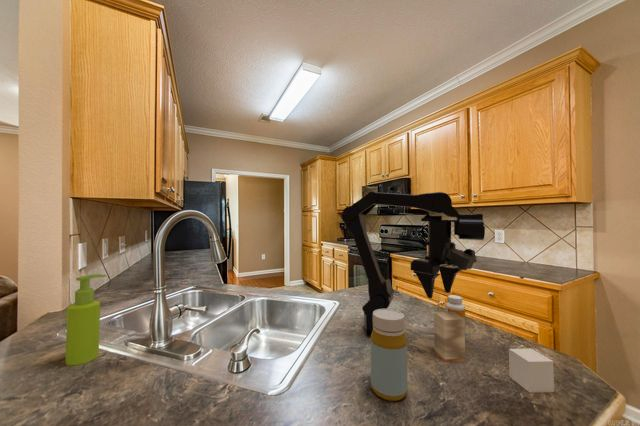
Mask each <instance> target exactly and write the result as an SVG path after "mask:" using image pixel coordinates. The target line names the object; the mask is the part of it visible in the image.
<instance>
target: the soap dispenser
mask: <svg viewBox="0 0 640 426" xmlns="http://www.w3.org/2000/svg"><path fill="white" fill-rule="evenodd" d="M105 277H107V275H106V274H101V273H100V274H97V273H96V274H88V275H87V274H86V275H83V276H78V277H75V281H79V282H80V283H79V284H80V285H79V288H78V289H77V290H75V291H74V303H73V304H70V305H68V306H67V307H66V333H65V335H66V336H65V337H66V338H65V363H64V364H65V365H66V366H68V367H69V366H71V367H72V366H79V365H83V364H86V363H89V362H90V361H94V360H95V359H96V358H98V356H99V355H100V353H99V352H100V324H101V323H100V321H101V317H100V315H101V301H100V300H95V299H94V298H95V295H94V294H95V289H94V288H92V287H90V285H91V284H90V280H91V279H95V278H105Z"/></svg>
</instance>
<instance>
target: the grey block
mask: <svg viewBox="0 0 640 426" xmlns="http://www.w3.org/2000/svg"><path fill="white" fill-rule="evenodd" d="M508 359H509V360H508V368H509V370H508V371H509V378H510V379H512V380H513V381H514V382H515V383H517V384H518V385H519V386H520V387H522V388H523V389H525V390H526V391H527V392H529V393H535V394H536V393H555V371H554V370H555V369H554V361H553V360H552V359H551V358H549V357H547V356H545V355H543V354H542V353H540V352H538V351H536V350H534V349H533V348H508Z"/></svg>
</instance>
